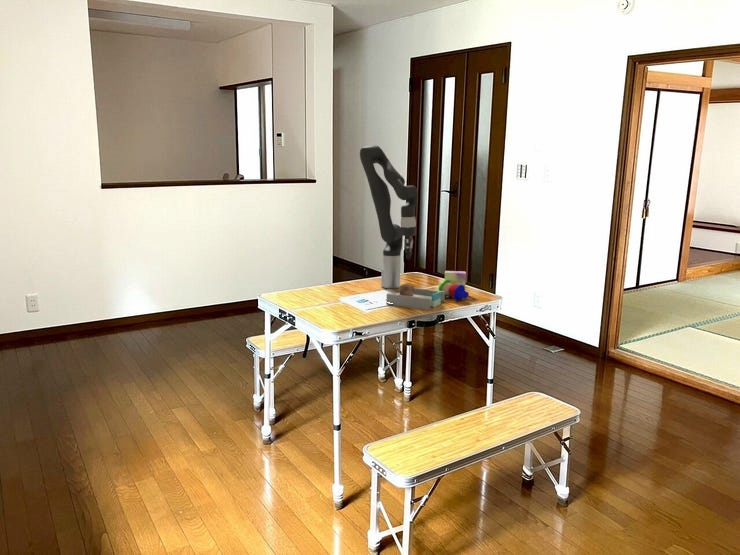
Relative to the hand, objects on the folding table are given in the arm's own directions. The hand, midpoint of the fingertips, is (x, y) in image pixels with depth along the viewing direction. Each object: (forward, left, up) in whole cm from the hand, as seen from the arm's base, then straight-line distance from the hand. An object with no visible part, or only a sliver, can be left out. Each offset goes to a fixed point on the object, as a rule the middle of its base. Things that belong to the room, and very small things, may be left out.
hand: (409, 257), depth 315 cm
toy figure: (+25, -3, -18) cm, 31 cm away
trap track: (+13, -18, -18) cm, 29 cm away
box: (+22, +7, -18) cm, 30 cm away
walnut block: (+8, -18, -15) cm, 25 cm away
